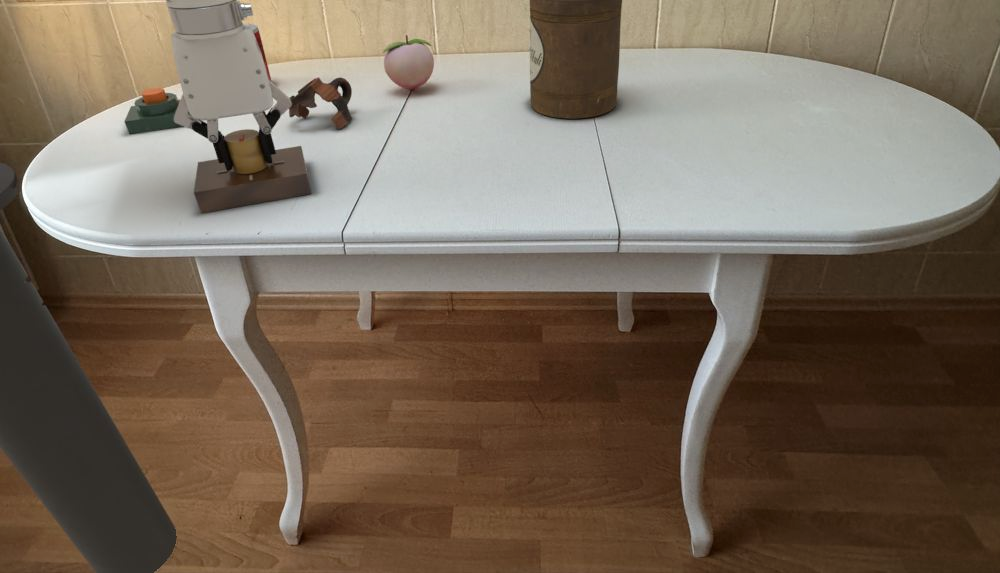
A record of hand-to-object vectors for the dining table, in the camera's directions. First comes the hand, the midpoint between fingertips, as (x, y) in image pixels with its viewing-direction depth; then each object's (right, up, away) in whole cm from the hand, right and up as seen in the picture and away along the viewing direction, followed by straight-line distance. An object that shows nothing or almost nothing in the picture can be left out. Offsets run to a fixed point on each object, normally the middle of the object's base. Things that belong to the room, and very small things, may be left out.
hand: (249, 161), depth 83 cm
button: (-25, +15, +23) cm, 37 cm away
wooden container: (+46, +15, +25) cm, 54 cm away
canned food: (-15, +22, +39) cm, 47 cm away
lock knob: (0, -1, 0) cm, 1 cm away
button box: (-25, +12, +25) cm, 37 cm away
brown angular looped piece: (+4, +11, +22) cm, 25 cm away
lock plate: (0, -3, +2) cm, 4 cm away
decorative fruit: (+17, +20, +33) cm, 43 cm away
